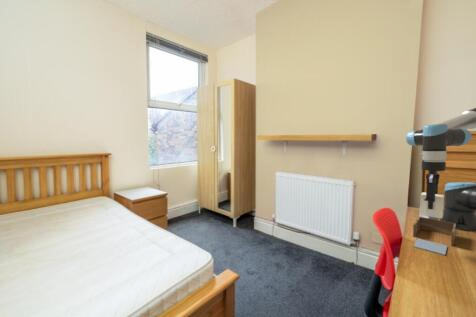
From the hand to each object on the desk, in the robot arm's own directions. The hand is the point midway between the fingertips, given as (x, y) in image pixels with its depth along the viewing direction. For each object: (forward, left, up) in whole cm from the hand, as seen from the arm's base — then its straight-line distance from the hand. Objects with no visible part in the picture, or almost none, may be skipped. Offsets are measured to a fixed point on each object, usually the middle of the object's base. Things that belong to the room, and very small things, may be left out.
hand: (431, 214), depth 91 cm
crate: (-12, -8, -15) cm, 20 cm away
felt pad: (0, 0, -15) cm, 15 cm away
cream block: (0, 0, 0) cm, 0 cm away
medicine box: (-20, -19, -15) cm, 31 cm away
